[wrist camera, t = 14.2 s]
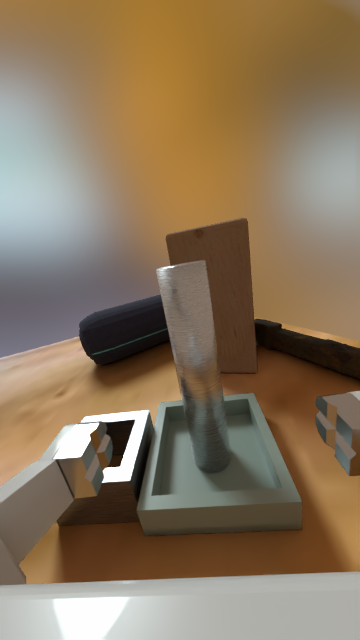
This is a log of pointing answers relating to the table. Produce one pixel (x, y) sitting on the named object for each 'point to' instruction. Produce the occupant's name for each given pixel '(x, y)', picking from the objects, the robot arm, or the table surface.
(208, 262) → the wooden block
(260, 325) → the hand tool
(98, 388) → the table surface
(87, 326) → the portable speaker
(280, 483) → the tray
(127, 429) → the hollow square frame
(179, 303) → the steel pin
